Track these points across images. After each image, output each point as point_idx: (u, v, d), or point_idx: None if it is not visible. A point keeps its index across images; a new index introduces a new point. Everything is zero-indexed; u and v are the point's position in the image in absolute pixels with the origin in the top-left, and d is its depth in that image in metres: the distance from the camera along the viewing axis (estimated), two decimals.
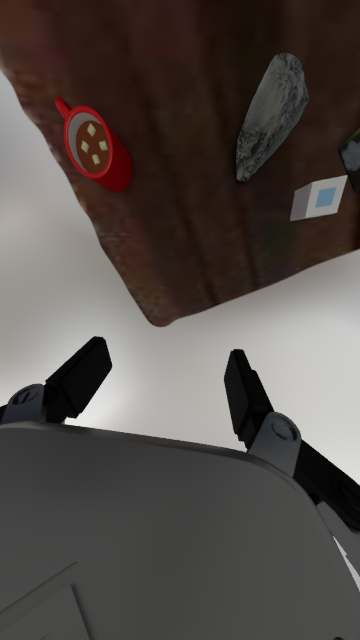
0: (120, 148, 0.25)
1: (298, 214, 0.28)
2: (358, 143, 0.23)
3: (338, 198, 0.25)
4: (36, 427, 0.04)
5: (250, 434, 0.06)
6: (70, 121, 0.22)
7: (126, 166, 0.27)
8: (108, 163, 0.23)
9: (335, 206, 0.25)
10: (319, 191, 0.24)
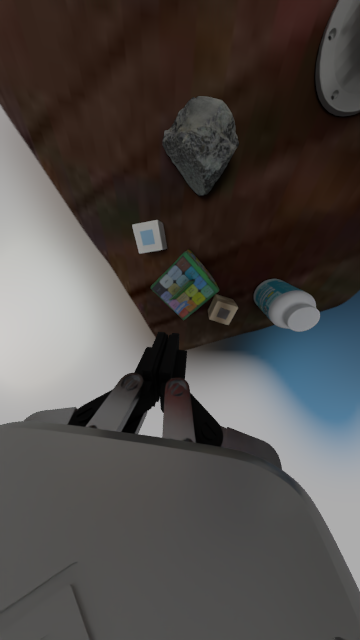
0: None
1: None
2: None
3: (148, 250, 0.29)
4: (36, 427, 0.04)
5: (161, 397, 0.08)
6: None
7: None
8: None
9: (143, 250, 0.29)
10: (151, 229, 0.27)
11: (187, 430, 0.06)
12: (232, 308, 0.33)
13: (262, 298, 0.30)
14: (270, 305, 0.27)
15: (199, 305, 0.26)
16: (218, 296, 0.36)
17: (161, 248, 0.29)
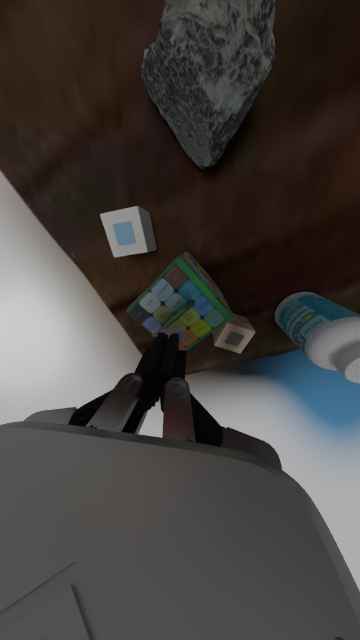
0: None
1: None
2: None
3: (126, 252, 0.20)
4: (36, 427, 0.04)
5: (161, 397, 0.08)
6: None
7: None
8: None
9: (119, 252, 0.20)
10: (129, 221, 0.18)
11: (187, 430, 0.06)
12: (246, 332, 0.24)
13: (292, 322, 0.21)
14: (308, 336, 0.18)
15: (201, 337, 0.17)
16: None
17: (145, 249, 0.19)
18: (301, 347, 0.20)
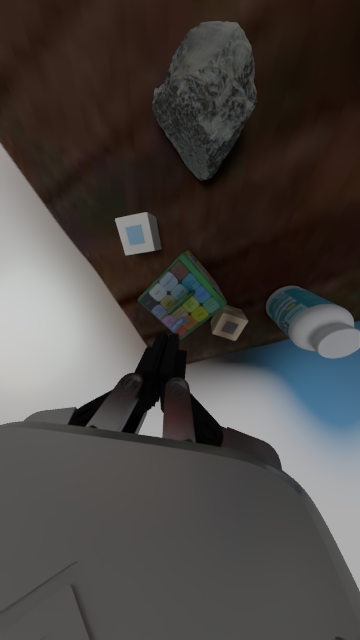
0: None
1: None
2: None
3: (136, 251, 0.23)
4: (36, 427, 0.04)
5: (161, 397, 0.08)
6: None
7: None
8: None
9: (130, 251, 0.23)
10: (140, 225, 0.21)
11: (187, 430, 0.06)
12: (240, 321, 0.27)
13: (279, 311, 0.24)
14: (291, 321, 0.21)
15: (201, 322, 0.21)
16: None
17: (153, 248, 0.23)
18: (286, 332, 0.23)
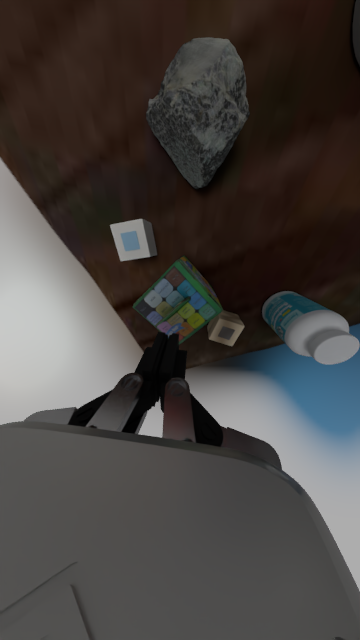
0: None
1: None
2: None
3: (132, 257, 0.23)
4: (36, 427, 0.04)
5: (161, 397, 0.08)
6: None
7: None
8: None
9: (125, 257, 0.23)
10: (135, 231, 0.21)
11: (187, 430, 0.06)
12: (237, 326, 0.27)
13: (275, 316, 0.24)
14: (287, 327, 0.21)
15: (197, 329, 0.20)
16: None
17: (148, 255, 0.23)
18: (282, 337, 0.23)
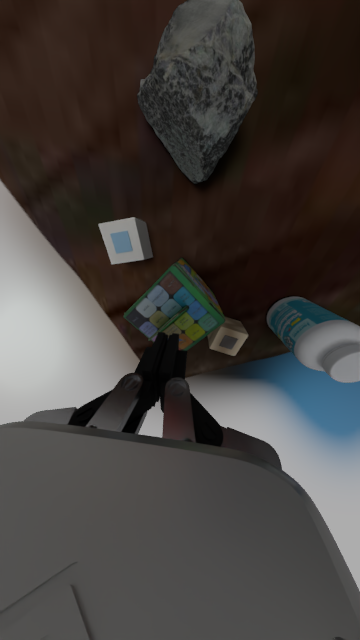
0: None
1: None
2: None
3: (124, 259, 0.21)
4: (36, 427, 0.04)
5: (161, 397, 0.08)
6: None
7: None
8: None
9: (116, 260, 0.21)
10: (127, 231, 0.19)
11: (187, 430, 0.06)
12: (240, 335, 0.25)
13: (283, 325, 0.22)
14: (297, 338, 0.19)
15: (196, 341, 0.18)
16: None
17: (142, 257, 0.20)
18: (291, 349, 0.21)
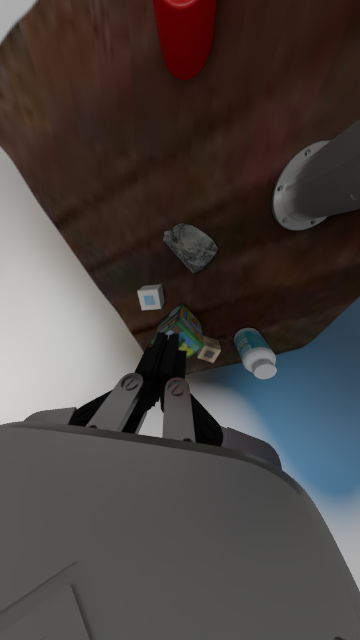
0: (188, 43, 0.19)
1: (143, 288, 0.36)
2: (177, 310, 0.38)
3: (149, 308, 0.36)
4: (36, 427, 0.04)
5: (161, 397, 0.08)
6: None
7: (177, 59, 0.20)
8: None
9: (145, 308, 0.36)
10: (152, 295, 0.35)
11: (187, 430, 0.06)
12: (216, 350, 0.41)
13: (239, 346, 0.39)
14: (243, 355, 0.35)
15: (188, 356, 0.34)
16: (205, 338, 0.43)
17: (160, 307, 0.36)
18: (242, 360, 0.37)
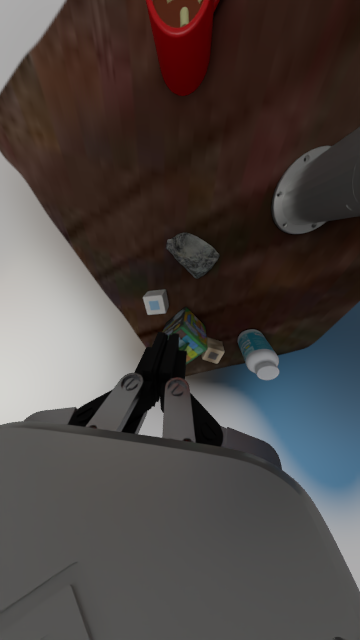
0: (186, 64, 0.20)
1: (148, 293, 0.38)
2: (181, 314, 0.39)
3: (154, 312, 0.38)
4: (36, 427, 0.04)
5: (160, 397, 0.08)
6: None
7: (176, 78, 0.21)
8: (159, 20, 0.16)
9: (150, 312, 0.38)
10: (157, 300, 0.36)
11: (187, 430, 0.06)
12: (219, 352, 0.42)
13: (242, 347, 0.39)
14: (246, 357, 0.36)
15: (193, 358, 0.36)
16: (209, 340, 0.45)
17: (164, 312, 0.38)
18: (245, 361, 0.38)
